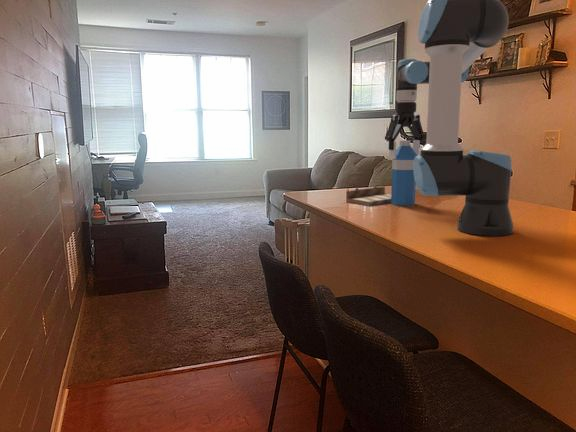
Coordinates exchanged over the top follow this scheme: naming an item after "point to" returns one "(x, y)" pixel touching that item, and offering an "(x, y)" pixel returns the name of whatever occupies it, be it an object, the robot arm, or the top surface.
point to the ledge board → (368, 196)
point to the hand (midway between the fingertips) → (404, 157)
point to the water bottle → (403, 176)
